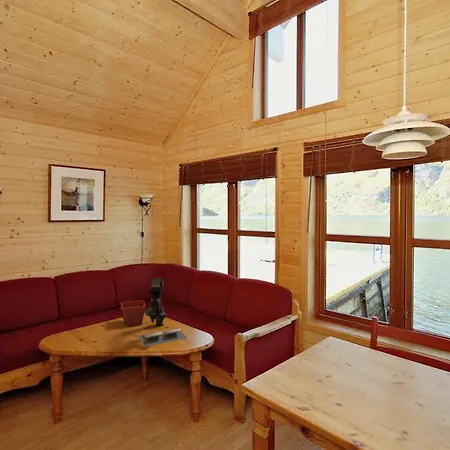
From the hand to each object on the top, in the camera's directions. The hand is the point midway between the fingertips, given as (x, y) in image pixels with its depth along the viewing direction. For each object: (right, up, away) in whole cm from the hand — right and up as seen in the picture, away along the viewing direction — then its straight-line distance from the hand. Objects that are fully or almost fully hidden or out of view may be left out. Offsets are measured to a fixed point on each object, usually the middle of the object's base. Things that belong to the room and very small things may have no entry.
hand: (156, 324), depth 236 cm
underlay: (+3, -12, +7) cm, 14 cm away
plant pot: (-28, -11, +39) cm, 49 cm away
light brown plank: (0, -11, +13) cm, 17 cm away
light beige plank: (-2, -9, +2) cm, 10 cm away
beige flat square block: (+10, -9, +8) cm, 16 cm away
